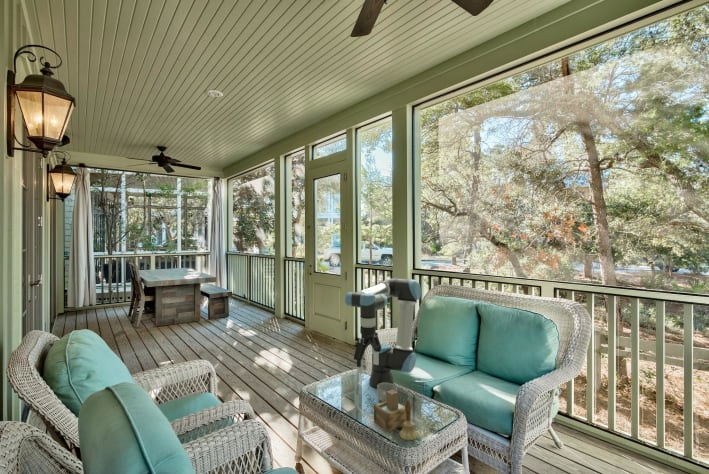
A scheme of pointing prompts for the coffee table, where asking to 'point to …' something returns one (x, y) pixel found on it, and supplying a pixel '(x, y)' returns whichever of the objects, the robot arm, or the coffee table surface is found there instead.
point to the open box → (389, 417)
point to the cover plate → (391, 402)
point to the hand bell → (408, 425)
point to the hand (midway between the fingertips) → (368, 368)
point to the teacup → (384, 390)
